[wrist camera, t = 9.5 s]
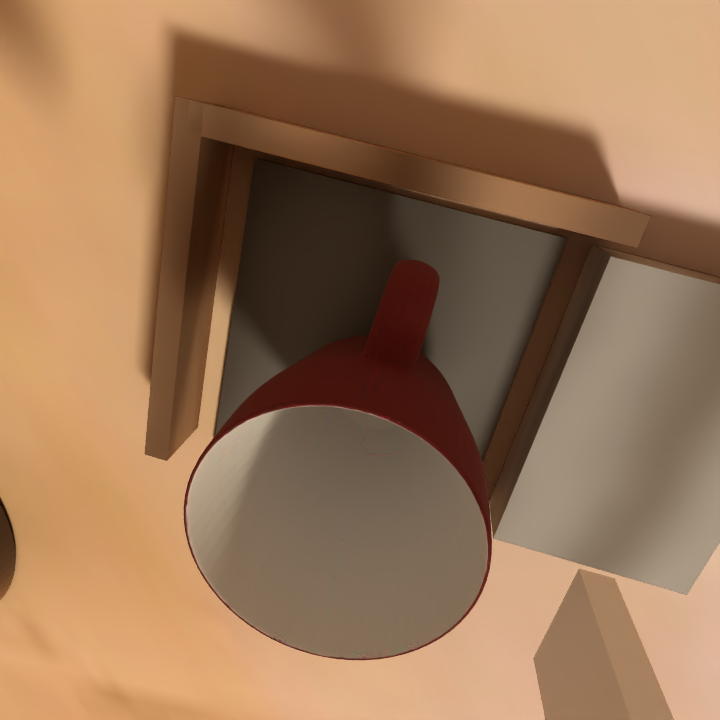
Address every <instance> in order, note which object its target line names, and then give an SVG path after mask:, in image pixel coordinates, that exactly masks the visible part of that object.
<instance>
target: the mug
mask: <svg viewBox="0 0 720 720" xmlns="http://www.w3.org/2000/svg"><path fill="white" fill-rule="evenodd" d="M439 281H440V277H439V275H438V273H437V271H436V270H435V269H434V268H433V267H431V266H430V265H428V264H426V263H424V262H421V261H417V260H413V259H407V260H401V261H400V262H398V263H396V265H395V266H394V268H393V270H392V272H391V274H390V277H389V279H388V282H387V284H386V287H385V290H384V293H383V295H382V298H381V301H380V304H379V307H378V310H377V313H376V315H375V318H374V321H373V324H372V327H371V330H370V334H369V335H361V336H354V337H349V338H344V339H340V340H337V341H334V342H332V343H330V344H328V345H325V346H323V347H321V348H320V349H318V350H316V351H314V352H313V353H311V354H310V355H308V356H306V357H305V358H303V359H301V360H300V361H298V362H296V363H295V364H293V365H291V366H290V367H288V368H287V369H285V370H283V371H282V372H280V373H278V374H277V375H275V376H274V377H272V378H271V379H270V380H268V381H267V382H265V383H264V384H263V385H261V386H260V387H259V388H258V389H257V390H255V391H254V392H253V393H252V394H251V395H250V396H249V397H248V398H247V399H246V400H245V401H244V402H243V403H242V404H241V405H240V406H239V407H238V408H237V410H236V411H235V412H234V413H233V414H232V415H231V417H230V418H229V419H228V420H227V421H226V423H225V424H224V425H223V426H222V428H221V429H220V430H219V432H218V433H217V434H216V435H215V437H214V438H213V439H212V441H211V442H210V443H209V445H208V446H207V447H206V449H205V450H204V452H203V453H202V455H201V456H200V458H199V460H198V461H197V463H196V465H195V467H194V469H193V471H192V474H191V476H190V479H189V482H188V485H187V490H186V494H185V501H184V524H185V532H186V537H187V541H188V545H189V548H190V551H191V554H192V556H193V558H194V561H195V563H196V565H197V567H198V569H199V571H200V572H201V574H202V576H203V578H204V579H205V581H206V582H207V584H208V585H209V586H210V588H211V589H212V590H213V592H214V593H215V594H216V595H217V597H218V598H219V599H220V600H221V601H222V602H223V603H224V604H225V605H226V606H227V607H228V608H229V609H230V610H231V611H232V612H233V613H234V614H235V615H237V616H238V617H239V618H240V619H242V620H243V621H244V622H246V623H247V624H248V625H250V626H251V627H253V628H254V629H256V630H257V631H259V632H260V633H262V634H264V635H266V636H267V637H269V638H271V639H273V640H275V641H277V642H279V643H282V644H284V645H286V646H289V647H291V648H294V649H297V650H300V651H303V652H306V653H310V654H314V655H318V656H322V657H328V658H335V659H344V660H373V659H382V658H389V657H394V656H398V655H402V654H406V653H409V652H412V651H415V650H418V649H420V648H422V647H425V646H427V645H429V644H431V643H433V642H435V641H436V640H438V639H440V638H441V637H443V636H444V635H446V634H447V633H449V632H450V631H451V630H452V629H454V628H455V627H456V626H457V625H458V624H459V623H460V622H461V621H462V620H463V619H464V618H465V617H466V616H467V615H468V614H469V612H470V611H471V609H472V608H473V607H474V605H475V604H476V602H477V600H478V599H479V597H480V595H481V593H482V591H483V588H484V586H485V583H486V581H487V577H488V573H489V569H490V562H491V554H492V537H491V521H490V508H489V499H488V490H487V481H486V477H485V472H484V468H483V463H482V459H481V456H480V453H479V450H478V447H477V445H476V442H475V439H474V437H473V435H472V433H471V430H470V428H469V426H468V424H467V422H466V420H465V418H464V416H463V413H462V411H461V409H460V407H459V405H458V403H457V401H456V399H455V396H454V394H453V392H452V390H451V388H450V386H449V384H448V383H447V381H446V379H445V378H444V376H443V375H442V373H441V372H440V371H439V370H438V368H437V367H436V366H435V365H434V364H433V363H432V362H431V361H430V360H429V359H428V358H427V357H426V356H425V355H423V354H422V353H421V352H420V350H421V347H422V344H423V341H424V338H425V335H426V332H427V329H428V326H429V323H430V319H431V316H432V313H433V309H434V305H435V302H436V298H437V294H438V289H439Z"/></svg>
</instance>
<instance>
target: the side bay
mask: <svg viewBox="0 0 720 720" xmlns="http://www.w3.org/2000/svg"><path fill="white" fill-rule="evenodd" d="M234 145H238V146H241V147H245V148H249V149H253V150H257V151H261V152H265V153H269V154H273V155H277V156H280V157H284V158H288V159H292V160H296V161H300V162H304V163H308V164H312V165H316V166H320V167H323V168H327V169H331V170H335V171H339V172H343V173H347V174H351V175H355V176H359V177H362V178H366V179H370V180H374V181H378V182H382V183H386V184H390V185H394V186H398V187H402V188H405V189H409V190H413V191H417V192H421V193H425V194H429V195H433V196H437V197H441V198H444V199H448V200H452V201H456V202H460V203H464V204H468V205H472V206H476V207H480V208H483V209H487V210H491V211H495V212H499V213H503V214H507V215H511V216H515V217H519V218H523V219H526V220H530V221H534V222H538V223H542V224H546V225H550V226H554V227H558V228H562V229H565V230H569V231H573V232H577V233H581V234H585V235H589V236H593V237H597V238H601V239H605V240H608V241H612V242H616V243H620V244H624V245H628V246H632V247H636V248H638V245H639V243H640V241H641V239H642V236H643V234H644V232H645V229H646V227H647V225H648V222H649V220H650V218H651V216H649V215H646V214H643V213H640V212H637V211H634V210H631V209H627V208H624V207H621V206H617V205H613V204H609V203H605V202H601V201H597V200H593V199H589V198H585V197H581V196H577V195H573V194H569V193H565V192H561V191H557V190H553V189H549V188H545V187H541V186H538V185H534V184H530V183H526V182H522V181H518V180H514V179H510V178H506V177H502V176H498V175H494V174H490V173H486V172H482V171H478V170H474V169H470V168H466V167H462V166H458V165H454V164H450V163H446V162H442V161H438V160H434V159H430V158H426V157H422V156H419V155H415V154H411V153H407V152H403V151H399V150H395V149H391V148H387V147H383V146H379V145H375V144H371V143H367V142H363V141H359V140H355V139H351V138H347V137H343V136H339V135H335V134H331V133H327V132H323V131H319V130H315V129H311V128H307V127H303V126H299V125H296V124H292V123H288V122H284V121H280V120H276V119H272V118H268V117H264V116H260V115H256V114H252V113H248V112H244V111H240V110H236V109H232V108H228V107H224V106H220V105H216V104H212V103H207V102H202V101H197V100H192V99H187V98H182V97H178V96H175V104H174V115H173V127H172V139H171V151H170V162H169V174H168V186H167V198H166V209H165V221H164V233H163V245H162V257H161V268H160V280H159V292H158V304H157V315H156V327H155V339H154V351H153V362H152V374H151V386H150V398H149V409H148V421H147V433H146V445H145V455H149V456H152V457H156V458H159V459H162V460H166V461H167V460H168V459H169V458H170V457H171V456H172V455H173V454H174V453H175V451H176V450H177V449H178V448H179V447H180V446H181V445H182V444H183V443H184V442H185V441H186V439H187V438H188V437H189V436H190V435H191V434H192V433H193V432H194V431H195V430H196V429H197V427H198V420H199V413H200V405H201V397H202V389H203V381H204V373H205V366H206V358H207V350H208V342H209V334H210V327H211V319H212V311H213V303H214V295H215V287H216V280H217V272H218V264H219V256H220V248H221V241H222V233H223V225H224V217H225V209H226V201H227V194H228V186H229V178H230V170H231V162H232V154H233V147H234ZM566 240H567V238H566V237H562V236H558V235H554V234H550V233H546V232H542V231H538V230H535V229H531V228H527V227H523V226H519V225H515V224H511V223H507V222H503V221H500V220H496V219H492V218H488V217H484V216H480V215H476V214H472V213H468V212H465V211H461V210H457V209H453V208H449V207H445V206H441V205H437V204H433V203H430V202H426V201H422V200H418V199H414V198H410V197H406V196H402V195H398V194H395V193H391V192H387V191H383V190H379V189H375V188H371V187H367V186H363V185H360V184H356V183H352V182H348V181H344V180H340V179H336V178H332V177H328V176H324V175H321V174H317V173H313V172H309V171H305V170H301V169H297V168H293V167H289V166H286V165H282V164H278V163H274V162H270V161H266V160H262V159H258V158H255V161H254V168H253V175H252V182H251V189H250V196H249V203H248V210H247V217H246V224H245V231H244V238H243V245H242V252H241V259H240V266H239V273H238V280H237V287H236V294H235V301H234V308H233V315H232V322H231V328H230V335H229V342H228V349H227V356H226V363H225V370H224V377H223V384H222V391H221V398H220V405H219V412H218V419H217V426H216V433H215V435H216V434H217V433H218V432H219V430H220V429H221V428H222V426H223V425H224V424H225V423H226V421H227V420H228V419H229V418H230V417H231V415H232V414H233V413H234V412H235V411H236V410H237V408H238V407H239V406H240V405H241V404H242V403H243V402H244V401H245V400H246V399H247V398H248V397H249V396H250V395H251V394H252V393H253V392H254V391H255V390H257V389H258V388H259V387H260V386H261V385H263V384H264V383H265V382H267V381H268V380H270V379H271V378H272V377H274V376H275V375H277V374H278V373H280V372H282V371H283V370H285V369H287V368H288V367H290V366H291V365H293V364H295V363H296V362H298V361H300V360H301V359H303V358H305V357H306V356H308V355H310V354H311V353H313V352H314V351H316V350H318V349H320V348H321V347H323V346H325V345H328V344H330V343H332V342H334V341H337V340H340V339H344V338H349V337H354V336H361V335H369V334H370V330H371V327H372V324H373V321H374V318H375V315H376V313H377V310H378V307H379V304H380V301H381V298H382V295H383V293H384V290H385V287H386V284H387V282H388V279H389V277H390V274H391V272H392V270H393V268H394V266H395V265H396V263H398V262H400V261H401V260H407V259H413V260H417V261H421V262H424V263H426V264H428V265H430V266H431V267H433V268H434V269H435V270H436V271H437V273H438V275H439V277H440V281H439V289H438V294H437V298H436V302H435V305H434V309H433V313H432V316H431V319H430V323H429V326H428V329H427V332H426V335H425V338H424V341H423V344H422V347H421V350H420V352H421V353H422V354H423V355H425V356H426V357H427V358H428V359H429V360H430V361H431V362H432V363H433V364H434V365H435V366H436V367H437V368H438V370H439V371H440V372H441V373H442V375H443V376H444V378H445V379H446V381H447V383H448V384H449V386H450V388H451V390H452V392H453V394H454V396H455V399H456V401H457V403H458V405H459V407H460V409H461V411H462V413H463V416H464V418H465V420H466V422H467V424H468V426H469V428H470V430H471V433H472V435H473V437H474V439H475V442H476V445H477V447H478V450H479V453H480V456H481V459H482V462H483V459H484V456H485V454H486V451H487V449H488V446H489V443H490V441H491V438H492V435H493V433H494V430H495V428H496V425H497V422H498V420H499V417H500V414H501V412H502V409H503V406H504V404H505V401H506V399H507V396H508V393H509V391H510V388H511V385H512V383H513V380H514V377H515V375H516V372H517V370H518V367H519V364H520V362H521V359H522V356H523V354H524V351H525V348H526V346H527V343H528V341H529V338H530V335H531V333H532V330H533V327H534V325H535V322H536V320H537V317H538V314H539V312H540V309H541V306H542V304H543V301H544V298H545V296H546V293H547V291H548V288H549V285H550V283H551V280H552V277H553V275H554V272H555V269H556V267H557V264H558V262H559V259H560V256H561V254H562V251H563V248H564V246H565V243H566ZM489 505H490V513H491V522H492V531H493V539H497V540H500V541H504V542H507V543H510V544H514V545H517V546H521V547H524V548H527V549H531V550H534V551H538V552H541V553H545V554H548V555H551V556H555V557H558V558H562V559H565V560H569V561H572V562H575V563H579V564H582V565H586V566H589V567H592V568H596V569H599V570H603V571H606V572H610V573H613V574H616V575H620V576H623V577H627V578H630V579H633V580H637V581H640V582H644V583H647V584H651V585H654V586H657V587H661V588H664V589H668V590H671V591H675V592H678V593H681V594H685V595H687V594H688V592H689V591H690V589H691V588H692V586H693V584H694V583H695V581H696V580H697V578H698V576H699V575H700V573H701V572H702V570H703V569H704V567H705V565H706V564H707V562H708V561H709V559H710V557H711V556H712V554H713V553H714V551H715V550H716V548H717V546H718V545H719V543H720V277H717V276H714V275H710V274H706V273H702V272H698V271H694V270H690V269H686V268H682V267H679V266H675V265H671V264H667V263H663V262H659V261H655V260H651V259H647V258H644V257H640V256H636V255H632V254H628V253H624V252H620V251H616V250H612V249H609V248H605V247H601V246H597V245H593V244H592V246H591V249H590V251H589V254H588V256H587V259H586V261H585V264H584V266H583V269H582V271H581V274H580V276H579V279H578V281H577V284H576V286H575V289H574V291H573V294H572V296H571V299H570V301H569V304H568V306H567V309H566V311H565V314H564V316H563V319H562V321H561V324H560V326H559V329H558V331H557V334H556V336H555V339H554V341H553V344H552V346H551V349H550V351H549V354H548V356H547V359H546V361H545V364H544V366H543V369H542V371H541V374H540V376H539V379H538V381H537V384H536V386H535V389H534V391H533V394H532V396H531V399H530V401H529V404H528V406H527V409H526V411H525V414H524V416H523V419H522V421H521V424H520V426H519V429H518V431H517V434H516V436H515V439H514V441H513V444H512V446H511V449H510V451H509V454H508V456H507V459H506V461H505V464H504V466H503V469H502V471H501V474H500V476H499V479H498V481H497V484H496V486H495V489H494V491H493V494H492V496H491V499H490V501H489Z"/></svg>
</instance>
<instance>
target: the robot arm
mask: <svg viewBox="0 0 720 720" xmlns="http://www.w3.org/2000/svg"><path fill="white" fill-rule="evenodd" d="M14 571H15V546H14V540H13V536H12V532H11V529H10V525H9V523H8V520H7V518H6V515H5V513H4V511H3V509H2V507H1V505H0V600H1V599H2V598H3V596H4V595H5V594H6V592H7V590H8V589H9V587H10V584H11V582H12V579H13V575H14ZM534 663H535V668H536V673H537V678H538V684H539V689H540V694H541V699H542V704H543V709H544V715H545V720H674V719H673V716H672V714H671V712H670V709H669V707H668V704H667V702H666V700H665V697H664V695H663V692H662V690H661V688H660V685H659V683H658V681H657V678H656V676H655V673H654V671H653V669H652V666H651V664H650V662H649V659H648V657H647V654H646V652H645V650H644V647H643V645H642V642H641V640H640V638H639V635H638V633H637V631H636V628H635V626H634V623H633V621H632V619H631V616H630V614H629V611H628V609H627V607H626V604H625V602H624V600H623V597H622V595H621V592H620V590H619V588H618V585H617V583H616V581H615V579H614V578H611V577H607V576H604V575H600V574H596V573H593V572H589V571H585V570H582V569H579V570H578V572H577V574H576V576H575V578H574V580H573V582H572V584H571V586H570V588H569V590H568V591H567V593H566V595H565V597H564V599H563V601H562V603H561V605H560V607H559V609H558V611H557V613H556V615H555V617H554V619H553V621H552V623H551V625H550V627H549V629H548V631H547V633H546V635H545V637H544V639H543V641H542V643H541V645H540V647H539V649H538V651H537V653H536V654H535V656H534Z"/></svg>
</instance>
